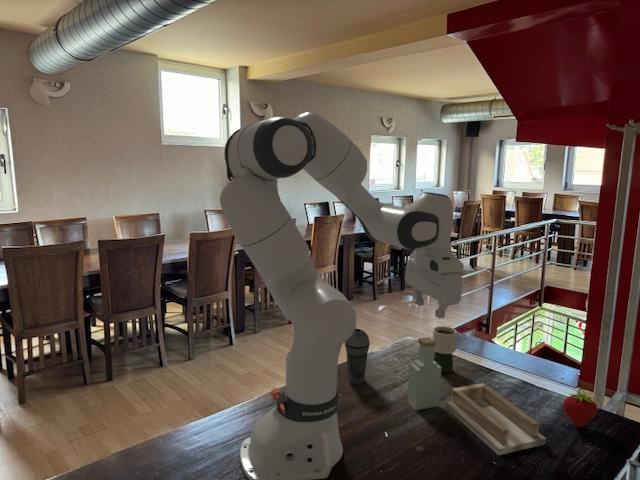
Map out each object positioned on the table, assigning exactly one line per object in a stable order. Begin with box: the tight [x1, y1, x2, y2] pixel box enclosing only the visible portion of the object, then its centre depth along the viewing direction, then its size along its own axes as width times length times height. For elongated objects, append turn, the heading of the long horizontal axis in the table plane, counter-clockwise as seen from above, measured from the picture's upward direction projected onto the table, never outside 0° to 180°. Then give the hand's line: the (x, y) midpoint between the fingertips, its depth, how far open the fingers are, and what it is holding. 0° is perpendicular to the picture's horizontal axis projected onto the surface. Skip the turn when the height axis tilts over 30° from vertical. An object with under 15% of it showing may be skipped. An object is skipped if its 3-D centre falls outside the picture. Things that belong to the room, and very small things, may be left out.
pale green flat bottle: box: [407, 336, 442, 411], centre depth 115 cm, size 7×4×18 cm, turn 108°
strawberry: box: [563, 387, 598, 428], centre depth 107 cm, size 6×8×10 cm
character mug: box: [431, 325, 458, 374], centre depth 134 cm, size 11×7×13 cm, turn 11°
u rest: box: [445, 382, 547, 456], centre depth 108 cm, size 13×20×5 cm, turn 18°
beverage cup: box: [344, 325, 371, 385], centre depth 127 cm, size 7×7×20 cm
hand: (429, 310), depth 112 cm, fingers open, 8 cm apart
